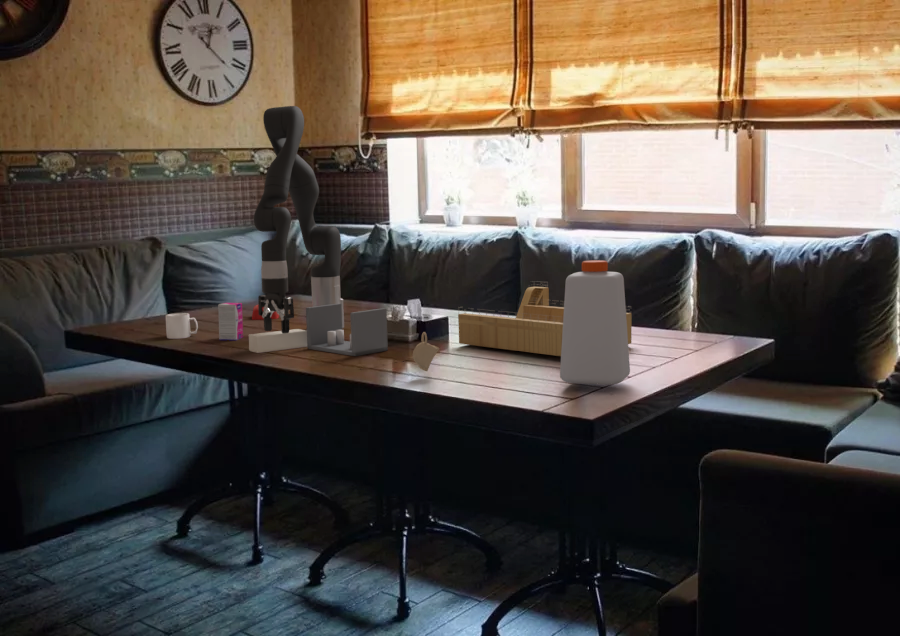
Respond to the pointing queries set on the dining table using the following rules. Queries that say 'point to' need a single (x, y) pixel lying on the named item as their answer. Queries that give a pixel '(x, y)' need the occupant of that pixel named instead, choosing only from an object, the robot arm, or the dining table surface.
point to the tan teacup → (424, 353)
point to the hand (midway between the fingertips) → (276, 331)
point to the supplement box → (230, 321)
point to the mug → (179, 325)
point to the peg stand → (329, 333)
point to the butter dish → (256, 316)
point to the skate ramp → (521, 326)
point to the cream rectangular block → (277, 340)
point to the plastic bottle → (594, 327)
